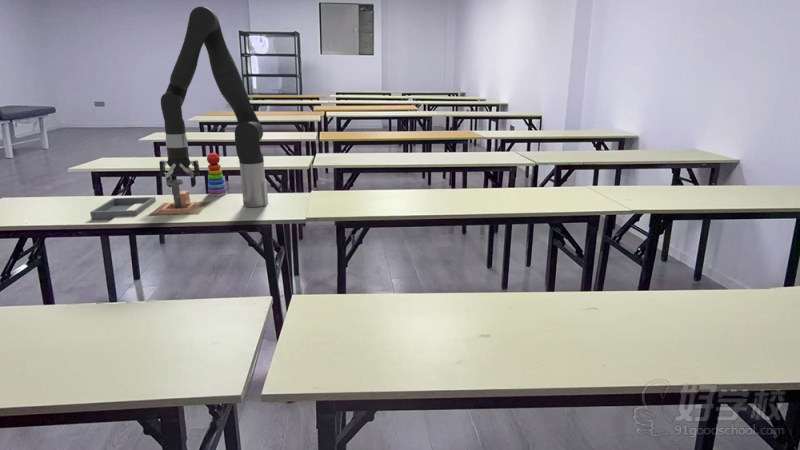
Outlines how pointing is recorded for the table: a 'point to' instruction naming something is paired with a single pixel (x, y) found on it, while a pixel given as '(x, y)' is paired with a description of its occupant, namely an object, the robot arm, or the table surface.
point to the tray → (121, 208)
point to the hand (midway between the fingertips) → (181, 186)
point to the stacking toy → (215, 176)
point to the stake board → (193, 212)
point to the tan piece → (184, 201)
